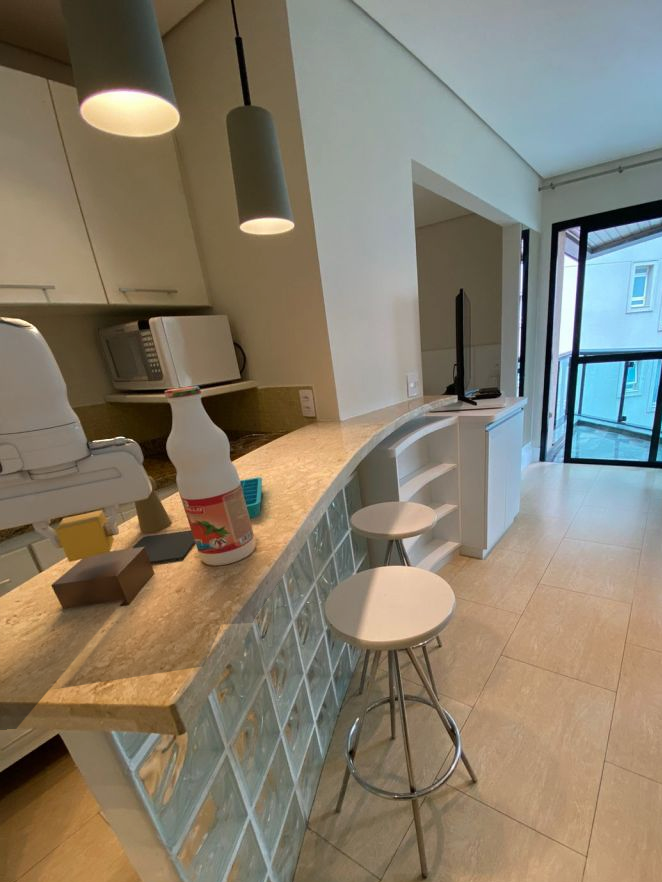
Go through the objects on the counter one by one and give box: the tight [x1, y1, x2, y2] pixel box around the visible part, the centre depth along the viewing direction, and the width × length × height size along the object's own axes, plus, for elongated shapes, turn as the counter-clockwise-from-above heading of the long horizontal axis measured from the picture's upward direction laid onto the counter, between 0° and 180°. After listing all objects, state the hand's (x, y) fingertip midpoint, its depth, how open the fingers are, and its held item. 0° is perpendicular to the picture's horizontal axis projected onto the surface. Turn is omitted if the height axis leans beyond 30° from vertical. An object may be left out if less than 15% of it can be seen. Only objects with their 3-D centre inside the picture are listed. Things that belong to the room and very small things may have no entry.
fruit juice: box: [164, 385, 257, 566], centre depth 66 cm, size 9×9×28 cm
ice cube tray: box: [240, 476, 263, 519], centre depth 93 cm, size 12×20×3 cm, turn 14°
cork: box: [133, 475, 172, 534], centre depth 85 cm, size 6×6×11 cm
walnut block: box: [50, 547, 155, 610], centre depth 62 cm, size 9×9×5 cm
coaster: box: [131, 529, 196, 565], centre depth 76 cm, size 12×12×1 cm
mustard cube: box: [54, 509, 115, 563], centre depth 59 cm, size 5×5×5 cm
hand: (88, 540), depth 60 cm, fingers closed on mustard cube, 5 cm apart
